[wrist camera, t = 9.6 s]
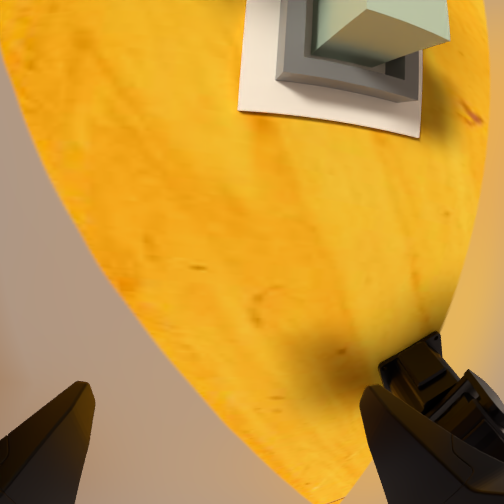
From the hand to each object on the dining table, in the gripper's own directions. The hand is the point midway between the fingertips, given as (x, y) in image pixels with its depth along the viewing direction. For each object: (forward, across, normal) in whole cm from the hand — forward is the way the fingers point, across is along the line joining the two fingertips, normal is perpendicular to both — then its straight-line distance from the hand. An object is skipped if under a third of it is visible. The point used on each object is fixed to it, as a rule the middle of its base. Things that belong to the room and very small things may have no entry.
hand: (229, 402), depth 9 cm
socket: (+12, -6, -15) cm, 20 cm away
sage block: (+12, -6, -15) cm, 20 cm away
